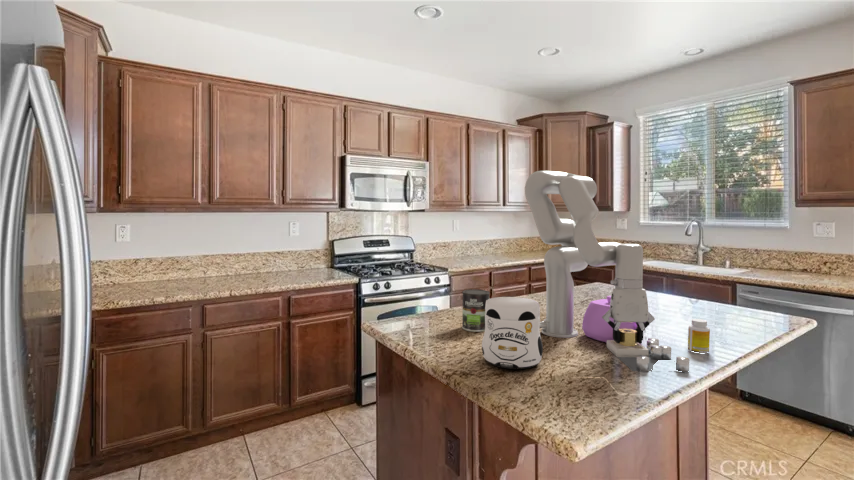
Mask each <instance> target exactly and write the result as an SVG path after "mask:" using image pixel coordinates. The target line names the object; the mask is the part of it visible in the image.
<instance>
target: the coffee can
mask: <svg viewBox="0 0 854 480" xmlns="http://www.w3.org/2000/svg"><path fill="white" fill-rule="evenodd" d="M461 293H462V317H461V318H462V320H461V322H462V325H461V326H462V327H461V328H462V329H463V330H464V331H466V332H472V333H473V332H475V333H483V332H485V305H486V300H488V299H490V293H491V292H490V291H489V290H485V289H465V290H463V291H462V292H461Z"/></svg>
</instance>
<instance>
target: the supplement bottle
mask: <svg viewBox="0 0 854 480" xmlns="http://www.w3.org/2000/svg"><path fill="white" fill-rule="evenodd" d="M710 332H711V330H710V328H709V326H708V322H707V320H705V319H701V318H691V324H689V325H688V330H687V335H688V336H687V351H688V350H690V351H694V352H699V353H707V352H709V353H710V335H711V333H710ZM690 351H689V352H690Z"/></svg>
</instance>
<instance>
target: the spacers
mask: <svg viewBox="0 0 854 480" xmlns="http://www.w3.org/2000/svg"><path fill="white" fill-rule="evenodd" d="M646 348H647V349H648V350H649V354H651V359H654V360H672V347H671V346H668V345H660V340H659V339H658V338H655V337H648V339H647V340H646ZM675 362H676V370H678V371H682V372H688V371H689V372H690V358H689V357H686V356H676V360H675ZM636 369H637V370H638V371H637V372H643V373H648V371H649V357H646V356H637V364H636ZM682 372H681V373H682Z"/></svg>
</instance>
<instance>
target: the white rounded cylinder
mask: <svg viewBox="0 0 854 480" xmlns="http://www.w3.org/2000/svg"><path fill="white" fill-rule="evenodd" d="M540 306H541V305H540V302H538V301H537V300H535V299H531V298H527V297H518V296H497V297H491V298H489V299H488V300H486V305H485V331H483V332H484V333H483V336H482V340H481V351H482V356H483V359H484V360H485V361H486V362H487V363H489V364H491V365H492V366H494V367H498V368H502V369H509V370H525V369H530V368H533V367H535V366H537V365H539V364H540V362H541V360H542V357H543V354H544V353H543V351H544V348H543V347H544V346H543V341H542V337H541V332H540V329H541V328H540V322H541V317H540V315H541V309H540V308H541V307H540Z"/></svg>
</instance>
